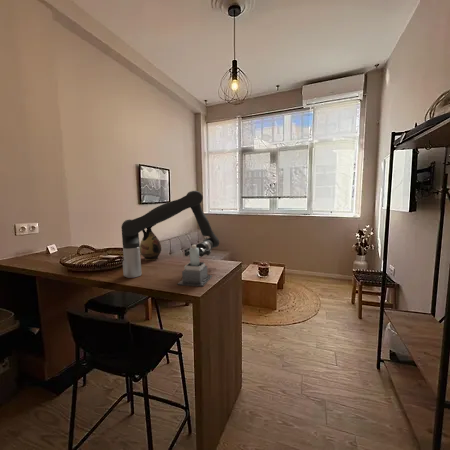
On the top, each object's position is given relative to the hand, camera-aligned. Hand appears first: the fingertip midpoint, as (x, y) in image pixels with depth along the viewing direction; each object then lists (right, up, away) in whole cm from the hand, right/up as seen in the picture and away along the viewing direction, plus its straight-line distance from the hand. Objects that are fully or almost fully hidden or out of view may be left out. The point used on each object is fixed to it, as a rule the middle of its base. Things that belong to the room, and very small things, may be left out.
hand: (193, 254), depth 133 cm
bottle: (+1, -8, +3) cm, 8 cm away
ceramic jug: (-39, -10, +52) cm, 66 cm away
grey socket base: (+1, -15, +4) cm, 15 cm away
